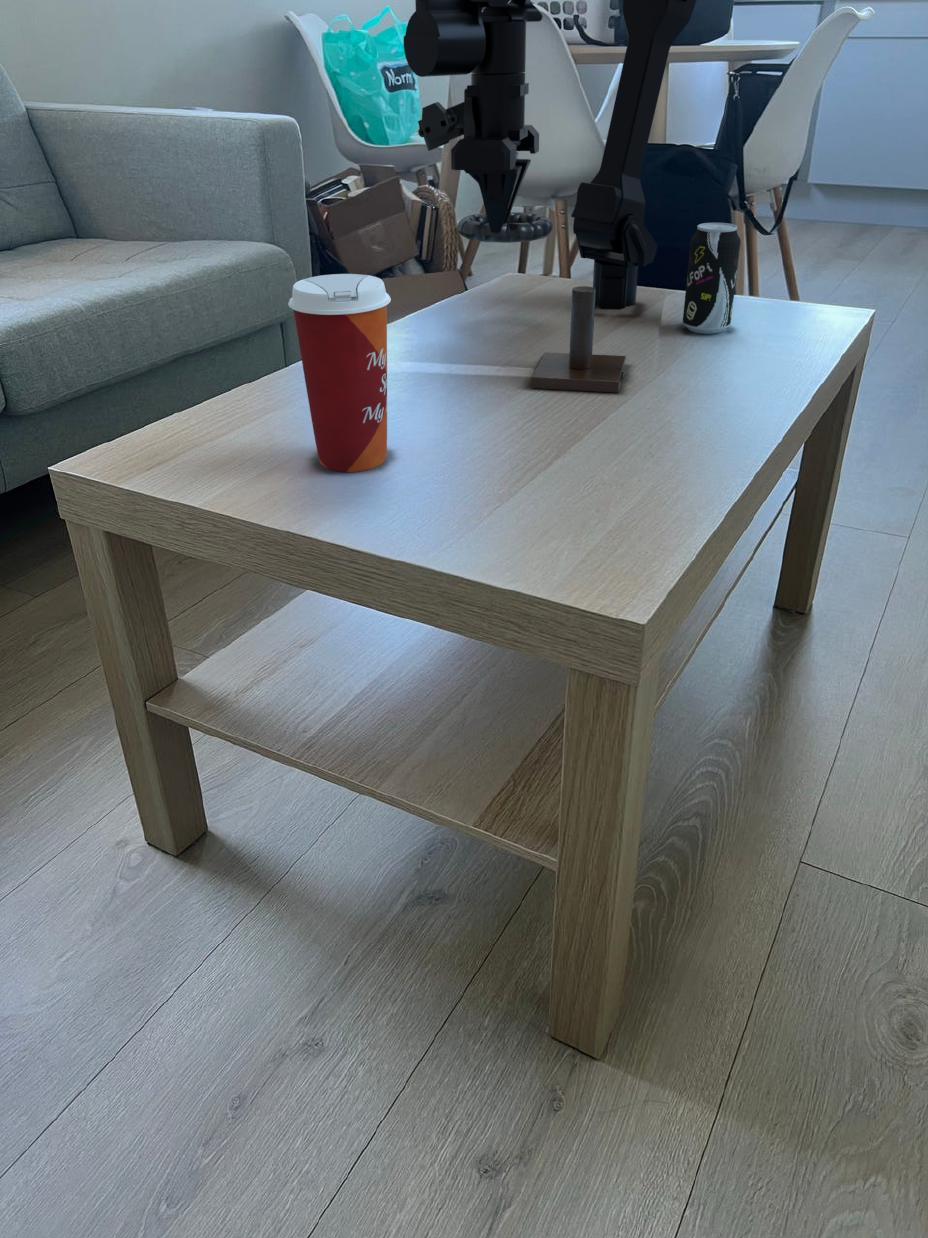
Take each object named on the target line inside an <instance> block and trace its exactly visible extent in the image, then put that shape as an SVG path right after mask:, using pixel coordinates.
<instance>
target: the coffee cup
mask: <svg viewBox="0 0 928 1238" xmlns="http://www.w3.org/2000/svg"><path fill="white" fill-rule="evenodd" d="M391 300H392V299H391V296H390V294H389V293H387V290H386V286H385V282H384V281H383V280H382V279H381V278H380V277H377V276H375V275H368V274H358V273H334V274H333V273H332V274H323V275H322V274H321V275H316V276H311V277H307V278H304V279H300V280H298V281H296V282H295V283H294V284H293V286H292V297H290V298H289V300H288V307H289V308H290V309H291V310H293V313H294V314H293V315H294V321H295V327H296V333H297V339H298V346H299V351H300V358H301V363H302V370H303V374H304V377H303V378H304V382H305V388H306V395H307V401H308V405H309V413H310V418H311V424H312V430H313V436H314V443H315V447H316V453H317V458H318V461H319V463H320V465H321V466H322V467H323V468H325V469H326V470H330V471H334V472H340V473H341V472H343V473H356V472H363V471H369V470H373V469H375V468H378V467H380V466H381V465H382V464H384V463H385V462H386V460H387V453H388V305H389V304H390V303H391Z"/></svg>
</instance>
